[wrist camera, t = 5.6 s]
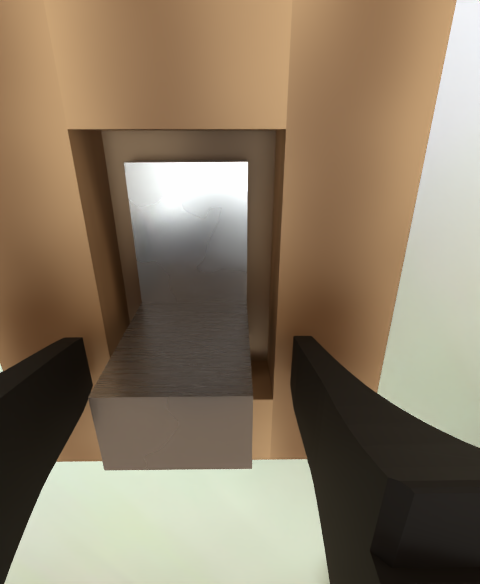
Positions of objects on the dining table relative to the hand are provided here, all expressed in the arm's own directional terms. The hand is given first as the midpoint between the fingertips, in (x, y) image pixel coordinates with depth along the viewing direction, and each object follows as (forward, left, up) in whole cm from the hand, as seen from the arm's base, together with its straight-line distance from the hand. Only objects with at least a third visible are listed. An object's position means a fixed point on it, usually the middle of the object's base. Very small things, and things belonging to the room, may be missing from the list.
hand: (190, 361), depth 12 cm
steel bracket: (0, -3, -3) cm, 4 cm away
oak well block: (0, -2, -4) cm, 4 cm away
